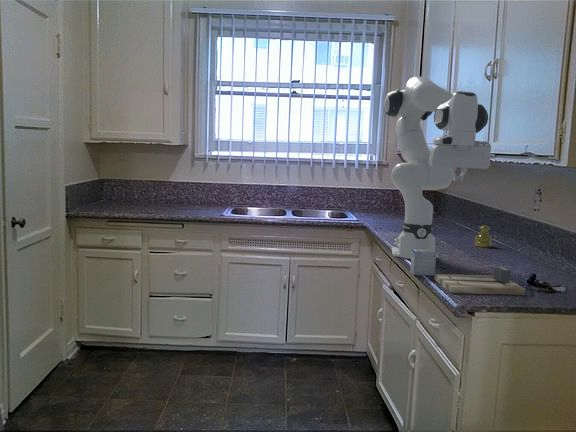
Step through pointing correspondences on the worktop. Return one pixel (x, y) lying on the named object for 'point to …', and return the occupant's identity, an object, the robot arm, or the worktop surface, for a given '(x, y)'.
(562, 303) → the worktop surface
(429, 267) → the medicine box
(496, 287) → the console
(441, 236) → the worktop surface
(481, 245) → the yellow lumpy upright piece
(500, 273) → the fader knob
